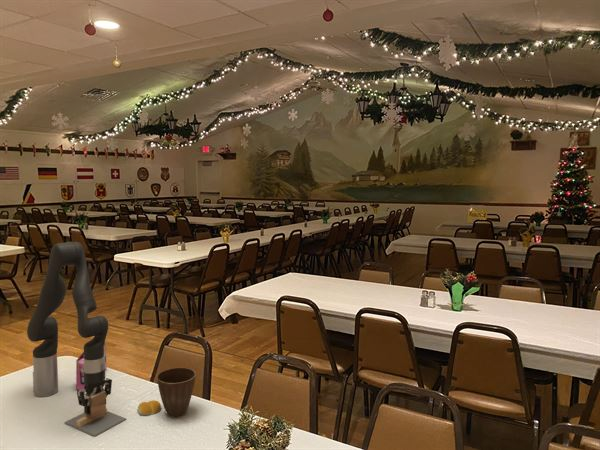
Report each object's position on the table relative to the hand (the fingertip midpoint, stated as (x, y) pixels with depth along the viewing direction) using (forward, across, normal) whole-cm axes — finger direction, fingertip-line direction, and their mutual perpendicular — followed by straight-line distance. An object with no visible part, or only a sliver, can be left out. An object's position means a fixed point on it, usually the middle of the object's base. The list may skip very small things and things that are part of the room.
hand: (95, 410), depth 176 cm
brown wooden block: (+2, 0, 0) cm, 2 cm away
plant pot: (+5, -21, +22) cm, 31 cm away
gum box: (+5, -24, -35) cm, 43 cm away
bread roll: (+5, -17, +11) cm, 20 cm away
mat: (+5, 0, 0) cm, 5 cm away
